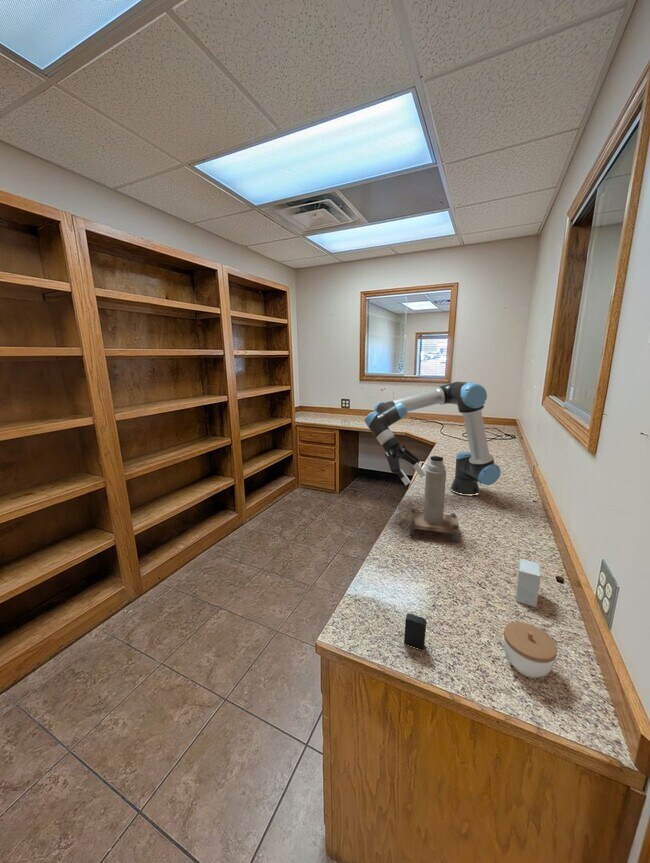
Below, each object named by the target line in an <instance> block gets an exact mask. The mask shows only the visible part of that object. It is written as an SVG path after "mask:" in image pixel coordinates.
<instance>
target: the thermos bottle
mask: <svg viewBox="0 0 650 863" xmlns="http://www.w3.org/2000/svg"><path fill="white" fill-rule="evenodd" d="M445 468H446V466H445V464H444V457H442V456H439V455H438V456H437V455H433V456H430V462H429V463H428V464H427V468H426V469H425V473H426V475H425V482H424V483H425V484H424V485H425V486H424V501H423V512H424V516H423V519H424V521H426V522H428V523H431V524H440V523H442V522H443V514H444V509H445V498H446V497H445V495H446V493H445V492H446V480H447V470H446V469H445Z"/></svg>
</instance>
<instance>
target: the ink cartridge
mask: <svg viewBox="0 0 650 863" xmlns="http://www.w3.org/2000/svg"><path fill="white" fill-rule="evenodd" d="M404 622H405V624H404V637H403V644H404V645H405V644H406V645H409V646H412V647H415V648H418V649H421V650H423V651H424V650H425V648H424V647H425V644H426V642H425V641H426V630H427V619H426V618H424V617H422V616H418V615H415V614H412V613H408V612H407V613H406V617H405V621H404ZM406 645H405V646H406ZM409 646H408V647H409ZM412 647H411V648H412ZM415 648H414V649H415ZM418 649H417V650H418ZM421 650H420V651H421Z"/></svg>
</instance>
